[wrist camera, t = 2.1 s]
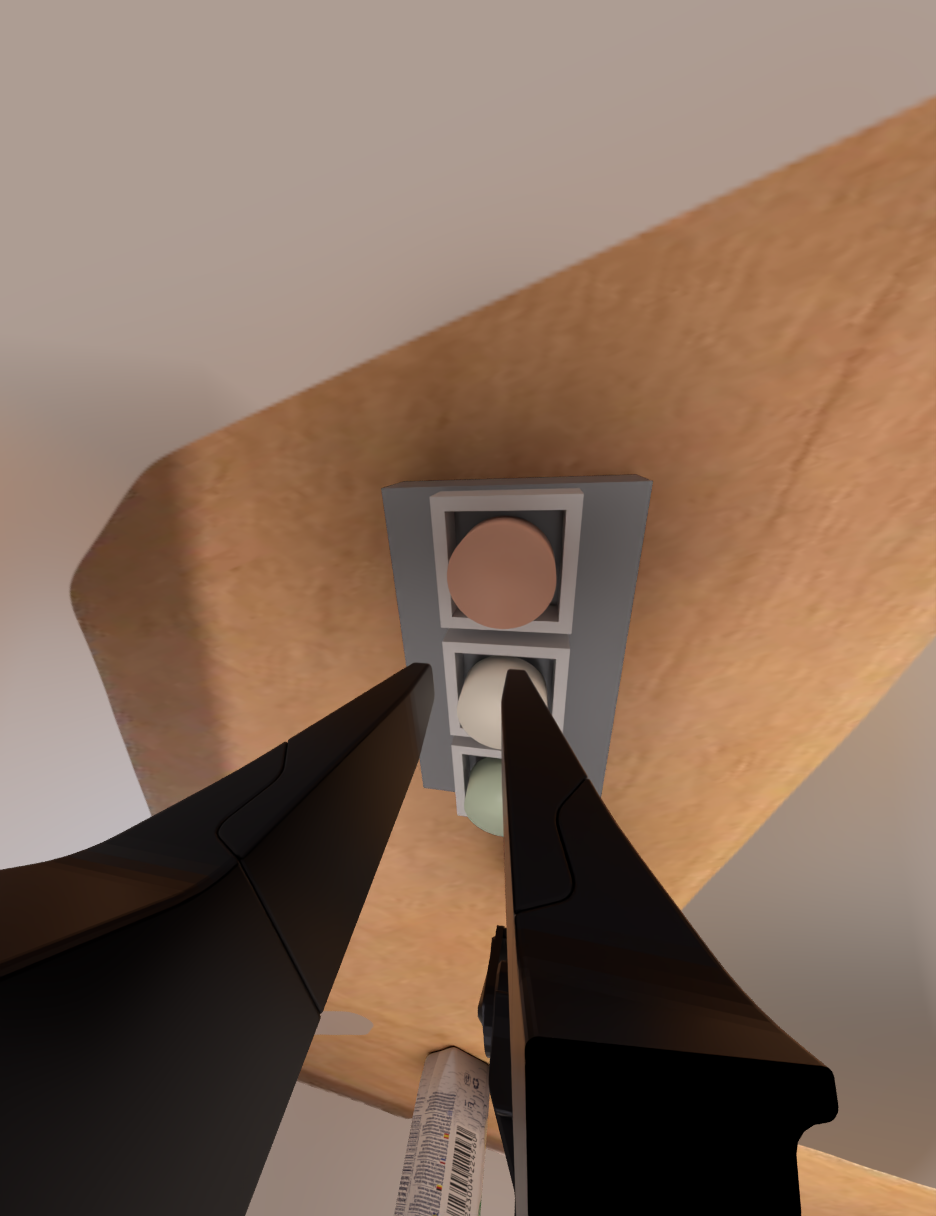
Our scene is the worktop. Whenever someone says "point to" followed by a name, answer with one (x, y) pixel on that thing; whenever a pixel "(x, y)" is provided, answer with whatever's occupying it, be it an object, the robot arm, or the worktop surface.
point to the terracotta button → (502, 573)
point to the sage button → (486, 796)
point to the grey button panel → (555, 641)
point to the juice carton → (447, 1138)
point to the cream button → (490, 697)
